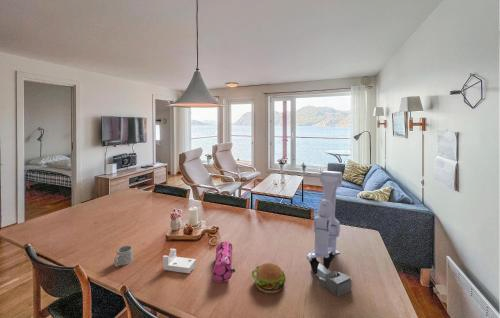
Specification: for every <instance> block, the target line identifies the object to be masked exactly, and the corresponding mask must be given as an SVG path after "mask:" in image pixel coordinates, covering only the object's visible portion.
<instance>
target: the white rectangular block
mask: <svg viewBox="0 0 500 318" xmlns="http://www.w3.org/2000/svg"><path fill="white" fill-rule="evenodd" d="M310 271H311V272H312V268H311V267H310ZM332 273H333V272H332V271H331V270H330V269H329V268H328V269H327V268H326V267H324V266H323V264H322V263H319V265H318V269H317V274H314V275H315V276H317V277H318V278H319V277H321V278H324V279H326V276H329V277H330V278H332V277H333V274H332Z"/></svg>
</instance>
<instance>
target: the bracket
mask: <svg viewBox="0 0 500 318" xmlns="http://www.w3.org/2000/svg"><path fill="white" fill-rule="evenodd" d="M196 266H197V259H196V258H189V257H183V256H182V257H180V256H177V248H170V249H169V254H168V255H165V254H164V255H163V256H162V267H163V268H162V269H163V270H164V271H170V272H177V273H185V274H191V272H192V271H194V269H195V268H196Z"/></svg>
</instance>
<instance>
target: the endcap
mask: <svg viewBox="0 0 500 318" xmlns="http://www.w3.org/2000/svg"><path fill="white" fill-rule="evenodd" d="M332 273H333V274H332V277H333V278H332V277H331V278H330V277H329V276H326V279H324V278H321V277H318V284H319V285H321V286H323V287H325V288H326V289H327V290H329V291H330V292H331V293H333V294H334V295H335V296H336V297H337V298H338V297H341V296H343V295H345V294H347V293H350V292H351V291H352V282H353V281H352V278H351V277H350V276H348V275H347V274H345V273H342V272H340V271H335V270H334V271H333V272H332Z"/></svg>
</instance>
